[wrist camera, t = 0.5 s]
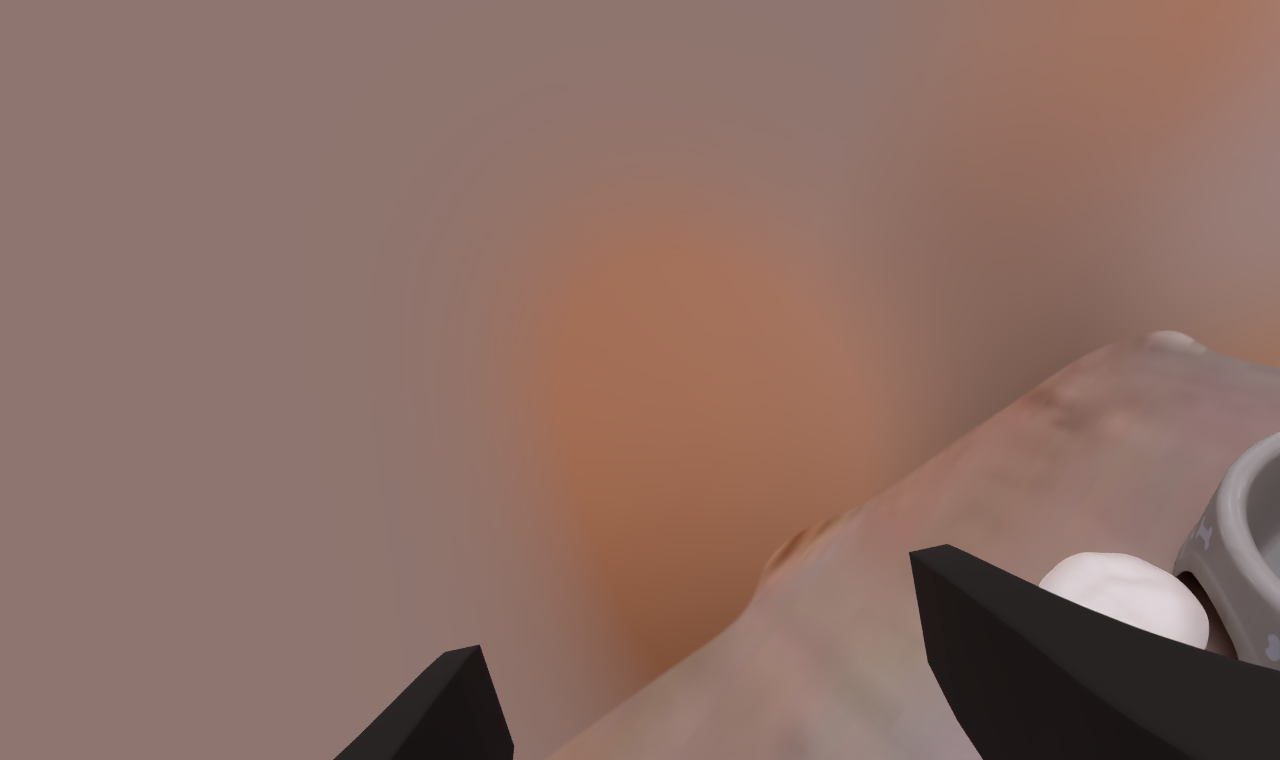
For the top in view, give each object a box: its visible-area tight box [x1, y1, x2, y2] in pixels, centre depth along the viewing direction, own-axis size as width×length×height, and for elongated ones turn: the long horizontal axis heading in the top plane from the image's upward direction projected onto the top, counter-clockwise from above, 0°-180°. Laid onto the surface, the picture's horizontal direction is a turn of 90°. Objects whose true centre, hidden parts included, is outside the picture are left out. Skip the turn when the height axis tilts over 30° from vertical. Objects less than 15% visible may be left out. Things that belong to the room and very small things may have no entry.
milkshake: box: [1039, 552, 1209, 650], centre depth 24 cm, size 4×5×10 cm
